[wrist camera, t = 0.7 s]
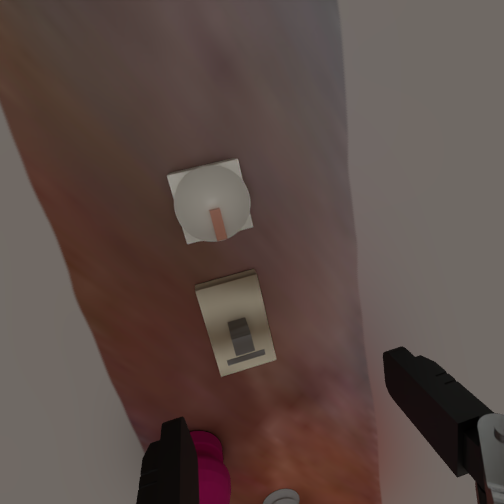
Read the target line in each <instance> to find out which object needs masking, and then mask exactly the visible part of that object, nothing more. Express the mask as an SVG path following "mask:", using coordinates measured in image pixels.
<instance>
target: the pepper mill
mask: <svg viewBox="0 0 504 504" xmlns="http://www.w3.org/2000/svg"><path fill="white" fill-rule="evenodd" d="M190 435H191V437H192V440H193V442H194V445H195V449H196V453H197V459H198V475H199V501H200V504H229V502H230V495H231V482H230V475H229V472H228V469H227V468H226V466H225V465H224V464H223V453H222V445H221V443H220V441H219V439H218V438H217V437H216V436H214V435H213V434H211V433H209V432H205V431H192V432H190Z"/></svg>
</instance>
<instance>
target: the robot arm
mask: <svg viewBox="0 0 504 504" xmlns="http://www.w3.org/2000/svg"><path fill="white" fill-rule="evenodd" d="M383 361H384V373H385V383H386V387H387V389H388V392H389V394H390V395H391V397H392V398H393V400H394V401H395V402H396V403H397V405H398V406H399V407H400V408H401V410H402V411H403V412H404V413H405V414H406V416H407V417H408V418H409V419H410V420H411V422H412V423H413V424H414V425H415V426H416V428H417V429H418V430H419V431H420V433H421V434H422V435H423V436H424V438H425V439H426V440H427V441H428V442H429V444H430V445H431V446H432V447H433V448H434V450H435V451H436V452H437V453H438V455H439V456H440V457H441V458H442V459H443V461H444V462H445V463H446V464H447V465H448V467H449V468H450V469H451V470H452V471H453V473H454V474H455V475H456V477H460V476H462V475H465V474H468V473H469V474H470V475H471V476H472V477H473V479H474V480H475V485H476V486H475V487H476V495H477V502H478V504H504V415H503V414H496V413H494V412H492V411H491V410H490V409H489V408H488V407H486V405H484V404H483V403H482V402H481V401H480V400H479V399H477V398H476V397H475V396H474V395H473V394H472V393H470V392H469V391H468V390H467V389H466V388H465V387H463V386H462V385H461V384H460V383H459V382H456V380H455V379H454V378H453V377H452V376H451V375H450V374H447V373H446V371H445V370H444V369H443V368H441V367H440V366H439V365H438V364H437V363H436V362H434V361H432V360H430V359H428V358H425V357H423V356H421V355H420V356H417V357H414V356H413V355H412V354H411V353H410V352H409V351H408V350H407V349H406V348H404V347H398V348H395V349H392V350H389V351H386V352H384V353H383ZM136 504H200V501H199V475H198V459H197V453H196V449H195V445H194V442H193V440H192V437H191V435H190V432H189V429H188V427H187V424H186V421H185V419H184V417H179V418H176V419H173V420H170V421H167V422H164V423H163V424H162V428H161V439H160V440H159V441H156V442H153V443H150V445H149V447H148V449H147V451H146V453H145V455H144V457H143V460H142V468H141V477H140V481H139V490H138V496H137V503H136Z"/></svg>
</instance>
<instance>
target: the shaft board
mask: <svg viewBox="0 0 504 504" xmlns="http://www.w3.org/2000/svg"><path fill="white" fill-rule="evenodd" d="M195 292H196V295H197V298H198V302H199V305H200V308H201V312H202V315H203V318H204V321H205V325H206V328H207V331H208V335H209V338H210V341H211V345H212V348H213V351H214V354H215V358H216V361H217V364H218V368H219V371H220V374H221V377H222V376H226V375H229V374H232V373H235V372H238V371H242V370H245V369H248V368H251V367H254V366H258V365H261V364H264V363H267V362H270V361H274V360H276V355H275V351H274V347H273V342H272V338H271V334H270V329H269V325H268V321H267V316H266V312H265V308H264V303H263V299H262V295H261V290H260V286H259V282H258V277H257V274H256V272H255V270H254V269H252V270H248V271H244V272H241V273H237V274H234V275H230V276H226V277H223V278H219V279H215V280H212V281H208V282H205V283H201V284H197V285H195Z"/></svg>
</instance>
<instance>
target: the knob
mask: <svg viewBox="0 0 504 504" xmlns="http://www.w3.org/2000/svg"><path fill="white" fill-rule="evenodd" d="M167 178H168V182H169V185H170V188H171V192H172V195H173V198H174V210H175V214H176V217H177V219H178V221H179V223H180V225H181V226H182V229H183V232H184V235H185V239H186V242H187V244H191V243H195V242H199V241H202V240H203V241H208V242H217V241H222V240H225V239H228V238H230V237H232V236H233V235H235V234H236V233H237V232H239V231H241V230H244V229H248V228H252V227H253V224H252V219H251V215H250V207H251V201H250V195H249V191H248V189H247V187H246V185H245V183H244V182H243V179H242V175H241V170H240V166H239V161H238V159H233V158H231V159H227V160H223V161H218V162H214V163H210V164H205V165H201V166H197V167H193V168H188V169H184V170H180V171H176V172H171V173H169V174H168V175H167Z"/></svg>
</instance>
